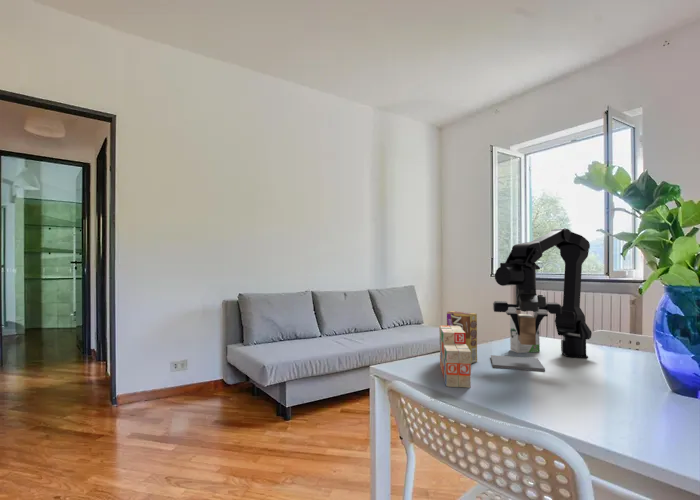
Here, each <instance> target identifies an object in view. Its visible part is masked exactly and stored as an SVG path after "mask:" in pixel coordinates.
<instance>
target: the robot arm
mask: <svg viewBox="0 0 700 500" xmlns="http://www.w3.org/2000/svg"><path fill="white" fill-rule="evenodd" d="M553 247H556V248H557V249H558V250H559V253H560V254H559V255H560V257H561V258H562V260H563V262H564V279H563V292H562V293H563V295H562V296H563V297H562V305H561V304H560V303H558V302H548V301H546V300H547V297H546V295H545V294H538V295H537V280H536V279H537V275H536V271H537V270H541V267H540V266H539V265H538V264H537V263H536V262H537V261H539V260H540V259H541V258H542V257H543V253H545V252H546V251H548V250H549V249H551V248H553ZM590 247H591V244H590V241H589V240H588V239H587V238H586V237H584V236H583V235H582V234H578V233H576V232H574V231H573V232H572V231H571V230H570V229H568V228H565V227H562V228H554V229H551V230H550V232H548V233H546V234H544V235H541V236H539V237H538V238H536V239H534V240H531V241H529V242H527V241H526V242H521V243H516V244H514V245H513V246H512V247H511V251H510V252H509V254H508V255H507V256H508V257H507V258H506V260H505V262H501V263H500V264H499V267H498V268H497V269H496V270H495V273H494V279H495V282H496V283H497V284H498V285H499V286H502V287H504V286H507V287H508V286H515V303H508V301H505V300H504V301H502V300H501V301H500V300H495V301H493V303H492V309H493V312H494V313H505V314H506V315H507V316H509V317H510V318H512V320H513V322H514V325H515V328H516V331H517V334H518V335H520V329H519V322H518V314H519V313H517V311H521V312H533V317H535V329H536V333H537V330H538V327H539V328H540V324H541V322H542V321H543V319H544V318H545V317H548V316H549V314H551V315H552V314H553V315H555V318H554V323H555V327H556V332H557V335H558V336H562V339H561V340H560V351H561V353H562V354H563V355H564V356H565V357H569V358H571V357H572V358H584V359H588V358H589V356H588V355H587V340H590V339H591V338H592V333H593V332H592V330H591V329H590V327H589V326H588V324H587V323H586V315H585V314H584V312H583V310H582V308H581V289H582V268H583V263H584V262H585V261H586V259H587V258H588V257H589V251H590ZM548 313H549V314H548Z"/></svg>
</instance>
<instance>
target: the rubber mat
mask: <svg viewBox="0 0 700 500" xmlns="http://www.w3.org/2000/svg"><path fill="white" fill-rule="evenodd" d="M490 360H491V365H492V368H496V369H508V370H509V369H510V370H521V371H522V370H523V371H536V372H545V371H546V368H545V366H544V365H543V363H541V361H540V359H539V357H525V356H524V357H523V356H509V355H508V356H507V355H495V354H493V355H492V354H491V355H490Z"/></svg>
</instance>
